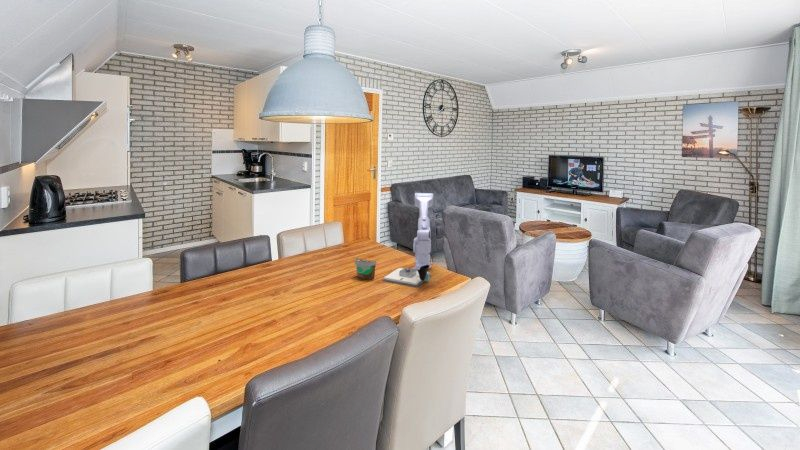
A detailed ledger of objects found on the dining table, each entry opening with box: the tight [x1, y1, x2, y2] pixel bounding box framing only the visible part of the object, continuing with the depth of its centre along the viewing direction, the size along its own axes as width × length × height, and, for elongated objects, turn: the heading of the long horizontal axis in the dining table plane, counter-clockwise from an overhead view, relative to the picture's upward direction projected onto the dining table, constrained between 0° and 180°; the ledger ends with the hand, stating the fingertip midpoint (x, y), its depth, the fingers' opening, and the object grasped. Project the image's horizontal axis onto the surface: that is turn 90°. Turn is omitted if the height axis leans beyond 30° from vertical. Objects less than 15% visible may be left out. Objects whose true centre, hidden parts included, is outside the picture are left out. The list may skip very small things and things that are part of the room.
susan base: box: [382, 274, 432, 288], centre depth 212 cm, size 19×19×1 cm
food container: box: [354, 257, 377, 281], centre depth 210 cm, size 12×6×10 cm, turn 62°
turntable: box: [383, 267, 431, 285], centre depth 211 cm, size 18×21×4 cm
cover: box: [399, 267, 417, 278], centre depth 211 cm, size 6×6×4 cm
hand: (422, 279), depth 203 cm, fingers closed
